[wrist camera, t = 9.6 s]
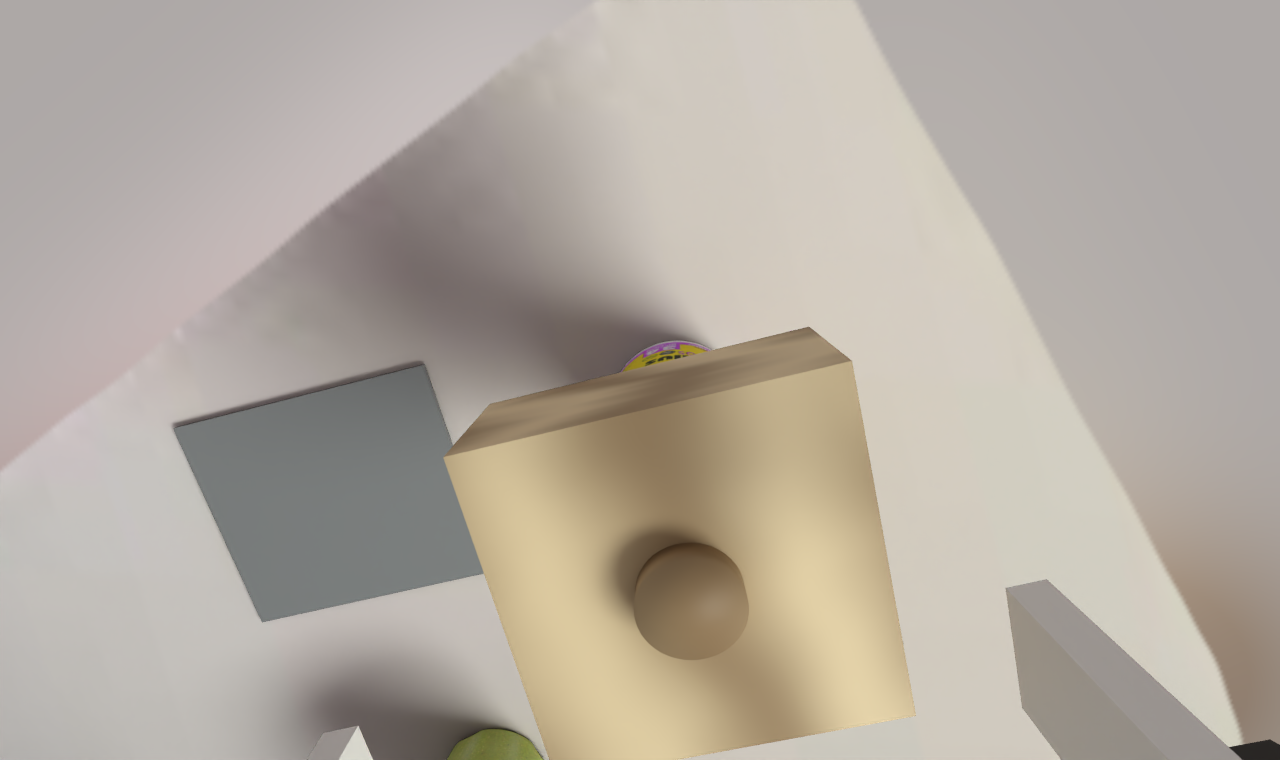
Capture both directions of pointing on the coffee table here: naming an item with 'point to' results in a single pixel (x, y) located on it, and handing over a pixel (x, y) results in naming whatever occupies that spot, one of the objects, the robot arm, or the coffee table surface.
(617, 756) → the lid
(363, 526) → the mat
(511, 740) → the plant pot
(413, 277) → the coffee table surface
